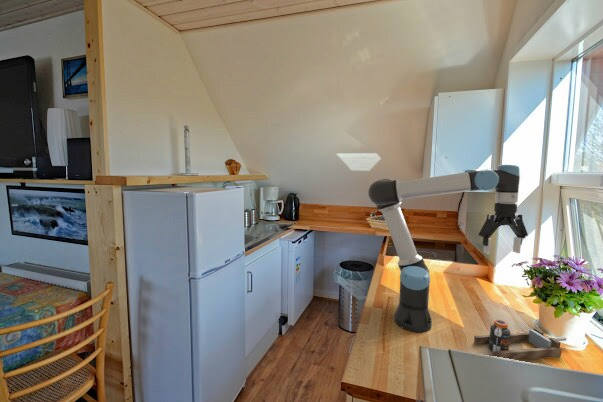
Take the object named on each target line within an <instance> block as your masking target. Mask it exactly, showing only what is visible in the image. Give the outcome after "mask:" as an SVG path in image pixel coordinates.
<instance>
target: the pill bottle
mask: <svg viewBox="0 0 603 402" xmlns="http://www.w3.org/2000/svg"><path fill="white" fill-rule="evenodd" d="M508 327H509V326H508V322H507V321H505V320H502V319H494V320H493V324H492V325H490V328H489V329H490V330H489V335H490V338H489V344H488V349H489V350H490V351H491V352H492V353H493V351H506V350H509V349H510V343H509V342H510V334H511V330H510V328H508Z"/></svg>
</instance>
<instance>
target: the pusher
mask: <svg viewBox="0 0 603 402" xmlns="http://www.w3.org/2000/svg"><path fill="white" fill-rule="evenodd" d="M533 329H534V328H533ZM533 329H532V328H531V329H530V328H529V331H528V332H529V340H528V342H527V343H529V344H531V345H532V346H534V347H536V348H547V347H551V340H549V338H550V337H546V336H544V335H541V334H539V333H538V332H536V331H534V330H533ZM553 338H554V339H555V340H557V341H559V342H564V341H565V342H566V341H567V340H568V339H567V337H565V336H560V337H559V336H558V337H553Z"/></svg>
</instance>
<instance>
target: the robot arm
mask: <svg viewBox="0 0 603 402" xmlns="http://www.w3.org/2000/svg"><path fill="white" fill-rule="evenodd" d="M520 178H521V166H520V165H518V164H498V165H497V168H496V169H489V168H487V169H466V170H464V172H460V173H459V172H458V173H453V174H452V173H451V174H445V175H438V176H432V177H424V178H418V179H411V180H405V181H404V180H402V181H400V180H398V179H394V180H391V179H389V178H381V179H378V180H375V181H373V183H371V184H370V186H369V188H368V192H367V195H368V198H369V200H370V201H371V202H372V203H373V204H375V206H376V208H377V211H379V212H380V213H381V214H382V215H383V218H384V221H385V224H386V227H387V229H388V231H389V235H390V237H391V240H392V242H393V245H394V249H395V251H396V253H397V256H398V259H399V260H398V262H397V265H398V268H399V271H400V274H399V300H398V305H397V307H396V310H395V312H394V315H393V316H394V318H393V320H395V321H394V322H395V324H396V323H397V324H398V325H397V324H396V325H397V326H399V327H400V326H401V327H400V328H402V327H403V328H402V329H404V328H405V329H404V330H406V329H407V330H406V331H409V330H410V332H413V331H414V333H425V332H428V331H430V330H431V329H432V324H433V323H432V321H433V320H432V317H431V313H430V311H429V298H430V296H429V294H430V283H431V277H430V270H429V268H428V266H427V265H426V263H425V260H424V258H423V256H422V255H420V254H418V252H417V249H416V246H415V243H414V240H413V238H412V235H411V233H410V230H409V227H408V225H407V222H406V220H405V217H404V214H403V212H402V209H401V205H402V203H403V202H402V201H403V200H408V199H417V198H425V197H434V196H441V195H451V194H457V193H465V192H466V193H467V192H476V191H489V190H493V189H494V188H495V196H494V202H495V203H494V206H493V207H494V209H493V210H494V214H491V213H488V214H487V215H486V220H485V221H484V223H483V225H482V227H481V229H480V230H479V233H478V236H479V237H481V238H482V246H483V251H482V253H484V254H487V255H491V243H492V238H491V237H492V235H493V234H494V233H495V232H496V231H497V229H498V228H499V227H501V226H509V228H510V229H511V231H512V232H513V234H514V235H515V236H513V245H512V252H513V253H517V254H520V253H521V248H522V247H521V246H522V244H523V239H525V238H526V237H528V235H529V233H528V231H527V229H526V225H525V223H524V220H523V214H522V213H517V212H518V211H517V210H518V204H517V203H518V199H519V189H520V181H521V179H520Z"/></svg>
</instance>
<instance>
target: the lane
mask: <svg viewBox="0 0 603 402" xmlns="http://www.w3.org/2000/svg"><path fill="white" fill-rule="evenodd" d="M533 330H534V331H536V332H538V333H539V334H541V335H543V336H544V335H545V334H544V333H545V332H543V331H542V330H540V329H538V328H537V327H534V328H533ZM489 338H490V334H483V335H474V339H473V344H474V345H475V346H482V345H489ZM548 338H549V340H551V347H547V348H537V347H536V348H523V349H521V348H520V349H511V350H506V351H493V352H492V357H493V356H497V357H503V358H509V359H515V360H514V361H519V360H521V361H522V360H524V361H525V360H535V359H548V358H549V357H550V358H560V356H562V350H563V349H562V348H561V341H557V340H555V339H554V338H555V337H548ZM528 340H529V331H528V332H516V333H515V332H512V333H511V332H510V342H509V344H510V343H511V344H513V343H529V342H528Z"/></svg>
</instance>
